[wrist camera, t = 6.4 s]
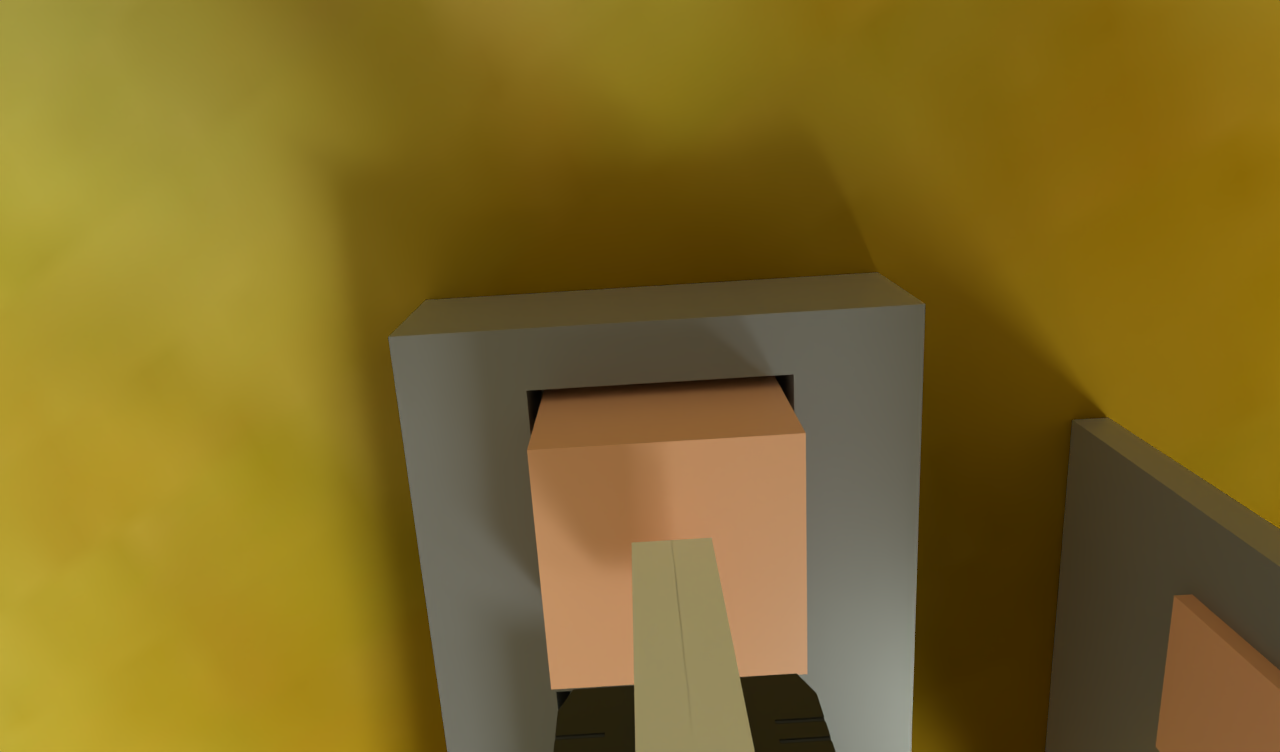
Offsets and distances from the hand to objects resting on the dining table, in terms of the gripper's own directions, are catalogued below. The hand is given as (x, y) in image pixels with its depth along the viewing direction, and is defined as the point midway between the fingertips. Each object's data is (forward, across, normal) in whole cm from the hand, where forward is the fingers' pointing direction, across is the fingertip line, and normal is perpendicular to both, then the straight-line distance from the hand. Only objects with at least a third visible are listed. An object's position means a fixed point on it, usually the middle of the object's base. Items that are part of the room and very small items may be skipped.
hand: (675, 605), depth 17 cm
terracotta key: (+6, 0, 0) cm, 6 cm away
